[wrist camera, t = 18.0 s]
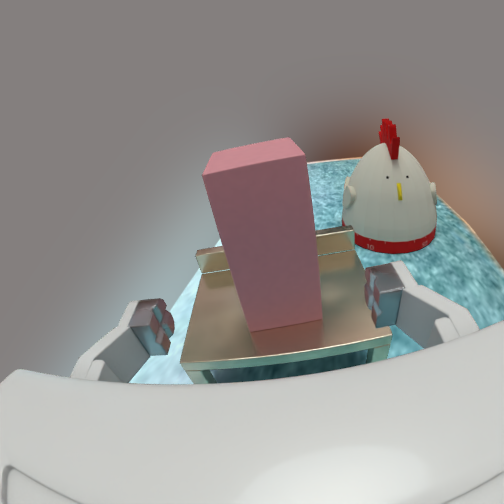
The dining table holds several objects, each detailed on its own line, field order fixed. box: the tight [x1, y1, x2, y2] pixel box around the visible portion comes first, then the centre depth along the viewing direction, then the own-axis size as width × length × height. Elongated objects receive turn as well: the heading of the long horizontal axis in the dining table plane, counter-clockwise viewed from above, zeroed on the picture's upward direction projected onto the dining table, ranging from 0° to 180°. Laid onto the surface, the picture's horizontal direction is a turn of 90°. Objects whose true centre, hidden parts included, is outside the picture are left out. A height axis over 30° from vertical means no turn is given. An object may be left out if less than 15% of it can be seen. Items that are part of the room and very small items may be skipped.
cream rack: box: [180, 225, 393, 384], centre depth 22 cm, size 14×11×8 cm
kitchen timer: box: [342, 119, 437, 254], centre depth 33 cm, size 14×14×15 cm
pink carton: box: [202, 137, 322, 332], centre depth 18 cm, size 5×5×11 cm
